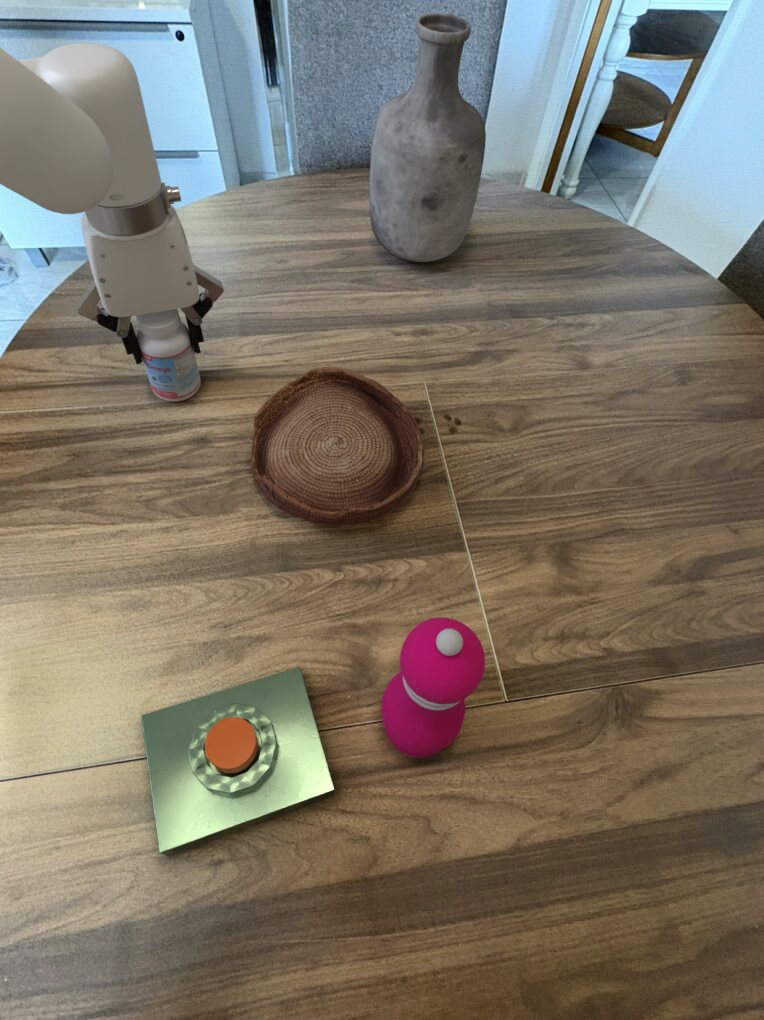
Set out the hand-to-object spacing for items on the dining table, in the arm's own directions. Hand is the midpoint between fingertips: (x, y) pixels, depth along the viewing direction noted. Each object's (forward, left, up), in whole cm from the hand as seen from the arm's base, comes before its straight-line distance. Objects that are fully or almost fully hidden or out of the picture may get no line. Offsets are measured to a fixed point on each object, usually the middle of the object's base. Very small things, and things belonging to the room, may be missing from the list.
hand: (167, 349), depth 73 cm
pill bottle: (0, 0, -6) cm, 6 cm away
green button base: (-2, -47, -6) cm, 47 cm away
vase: (+41, +21, -6) cm, 46 cm away
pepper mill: (+14, -49, -6) cm, 51 cm away
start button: (-2, -47, -2) cm, 47 cm away
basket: (+16, -17, -6) cm, 24 cm away
